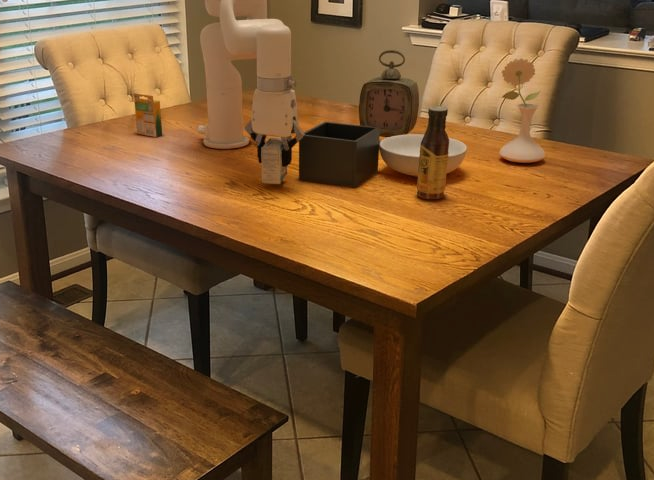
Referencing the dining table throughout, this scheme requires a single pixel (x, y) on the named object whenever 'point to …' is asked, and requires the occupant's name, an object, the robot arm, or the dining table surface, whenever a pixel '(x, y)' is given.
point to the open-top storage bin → (339, 154)
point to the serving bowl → (415, 153)
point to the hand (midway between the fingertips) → (274, 162)
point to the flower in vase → (523, 144)
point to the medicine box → (272, 161)
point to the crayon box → (148, 116)
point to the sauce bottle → (433, 156)
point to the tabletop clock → (389, 101)
